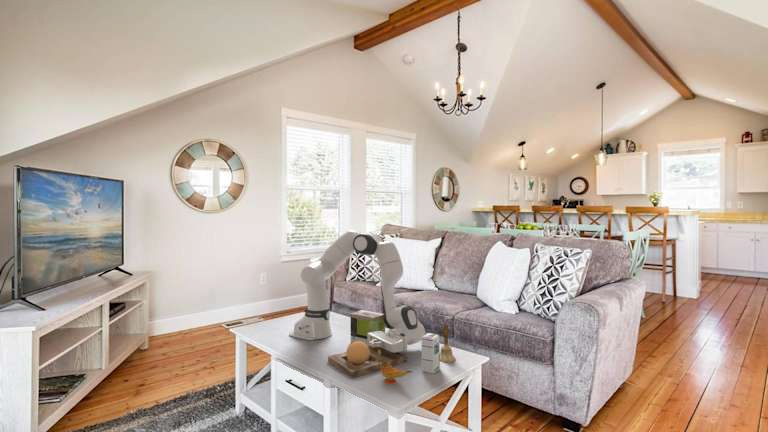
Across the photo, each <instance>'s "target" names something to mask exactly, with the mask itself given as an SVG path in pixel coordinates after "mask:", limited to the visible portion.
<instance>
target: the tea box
mask: <svg viewBox="0 0 768 432" xmlns="http://www.w3.org/2000/svg"><path fill="white" fill-rule="evenodd" d="M375 331H382V332H384V333H386V324H385V322H384V312H383V313H382V312H381V313H380V312H377V311H373V310H372V311H370V310H365V309H361V310H358V311H354V312H352V313H350V342H351V343H353V342H355V341H361V342H364V343H365V344H366V345H367V346H369V342H370V341H368V340H367V334H368V333H369V332H375Z"/></svg>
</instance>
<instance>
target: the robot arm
mask: <svg viewBox="0 0 768 432" xmlns="http://www.w3.org/2000/svg"><path fill="white" fill-rule="evenodd" d="M355 252H356V253H357V254H359V255H363V256H375V258H376V259H377V262H378V266H379V270H380V291H381V298H382V303H383V304H382V305H383V314H384V322H385V327H387V328H388V330H387V333H386V332H385V333H384V332H382V331H375V332H369V333H368V334H367V340H368V341H370V342H369V346H371V347H382V348H384V349H386V350H388V351H390V352H392V353H396V352H399V353H401V352H407V351H408V346H411V345H414V344H418V343H420V342H421V337H422V336H424V335H426V329H425V327H424V325H423V324H422V323H421V322H420V321H419V319H418V315H417V311H416V310H415V309H414V307H413V306H412V305H409V304H407V305H402V306H398V307H397V304H396V299H395V293H394V292H395V291H394V290H395V287H396V284H397V283H398V282H399V281H400V280H401V279H402V277H403V275H404V265H403V262H402V259H401V256H400V253H399V251H398V248H397V246H396V244H395V243H394V242H392V241H387V240H386V241H385V240H384V238H383V237H382V236H381V235H378V234H375V233H372V232H369V233H367V232H362V233H359V232H358V231H356V230H354V229H348V230H347V231H346V232H344V233H343V234H342V235H340V236H339V237H338V238H337V239H336V240H335V241H333V242H332V244H331V245H329V246H328V247H327V249H326V250H325V252H324V253H323V254H322V256H320V258H319V259H317V260H316V261H314V262H311V263H308V264H307V265H306V266H305V267H303V268H302V270H300V271H301V272H300V278H301V281H302V282H303V283H304V285H305V289H306V293H307V294H306V295H307V308H305V309H304V310H303V313H304V315H303V316H301V318H299V319H298V320H296V322H295V323H294V325H293V326H294V327H293V329H292V330H291V331H290V332H289V333H288V335H289V336H290V337H294V338H297V339H302V340H306V341H314V340H319V339H320V340H321V339H326V338H329V337H331V336H332V335H333V332H332V329H331V320H330V317H331V315H330V313H331V312H330V311H331V309H330V293H329V292H328V290H327V288H326V287H327V286H326V280H328V279H330V278H331V277H332V276H333V275H334V274H335V273H336V271H337V270H338V269H339V268H340V266H342V265H343V264H344V262H346V261H347V260H348V259H349V258H350V257H351V256H352V255H353V254H354V253H355Z"/></svg>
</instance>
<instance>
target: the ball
mask: <svg viewBox="0 0 768 432" xmlns="http://www.w3.org/2000/svg"><path fill="white" fill-rule="evenodd" d="M345 352H346V355H347V359H348V362H349V363H351V364H353V365H354V366H358V365H362V364H365V363H368V360H369V359H368V358H369V355H370V351H369V348H368V346H367V345H366V344H365V343H364V342H361V341H355V342H351V343H350V344H349V345H348V347H347V349H346V351H345Z"/></svg>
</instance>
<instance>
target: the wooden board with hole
mask: <svg viewBox="0 0 768 432" xmlns="http://www.w3.org/2000/svg"><path fill="white" fill-rule="evenodd" d="M368 348H369V351H370V355H369V358H368V360H369V362H366V363H364V364H362V365H358V366H356V365H353V364H351V363H350V362H349V361H348V359H347V355H346V352H347V351H345V352H340V353H338V354H333V355H329V356H327V363H329V364H330V365H332V366H333V367H335V368H336V369H337V370H339V371H341V372H342V373H344V374H345V375H346V376H348V377H350V378H351V379H354V378H358V377H361V376H363V375H368V374H371V373H374V372H377V371H382V370H381V369H383V368H385V367H386V366H384V365H386V364H388V362H389V363H390V365H391V366H392V367H394V366H397V365H400V364H403V363H407V361H408V360H407V355H406V354H403V353H401V352H396V353H392V352H390V351H388V350H386V349H384V348H382V347H371V346H368ZM378 349H379V350H380V351H381V354H380V357H379V356H378V354H379V353H378ZM377 356H378V358H377ZM380 358H381V360H380ZM377 360H378V362H379V363H380V364H381V366H382V367H383V368H382V367H381V366H380V364H379V363H378V362H377ZM381 361H382V363H383V364H384V365H383V364H382V363H381Z"/></svg>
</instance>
